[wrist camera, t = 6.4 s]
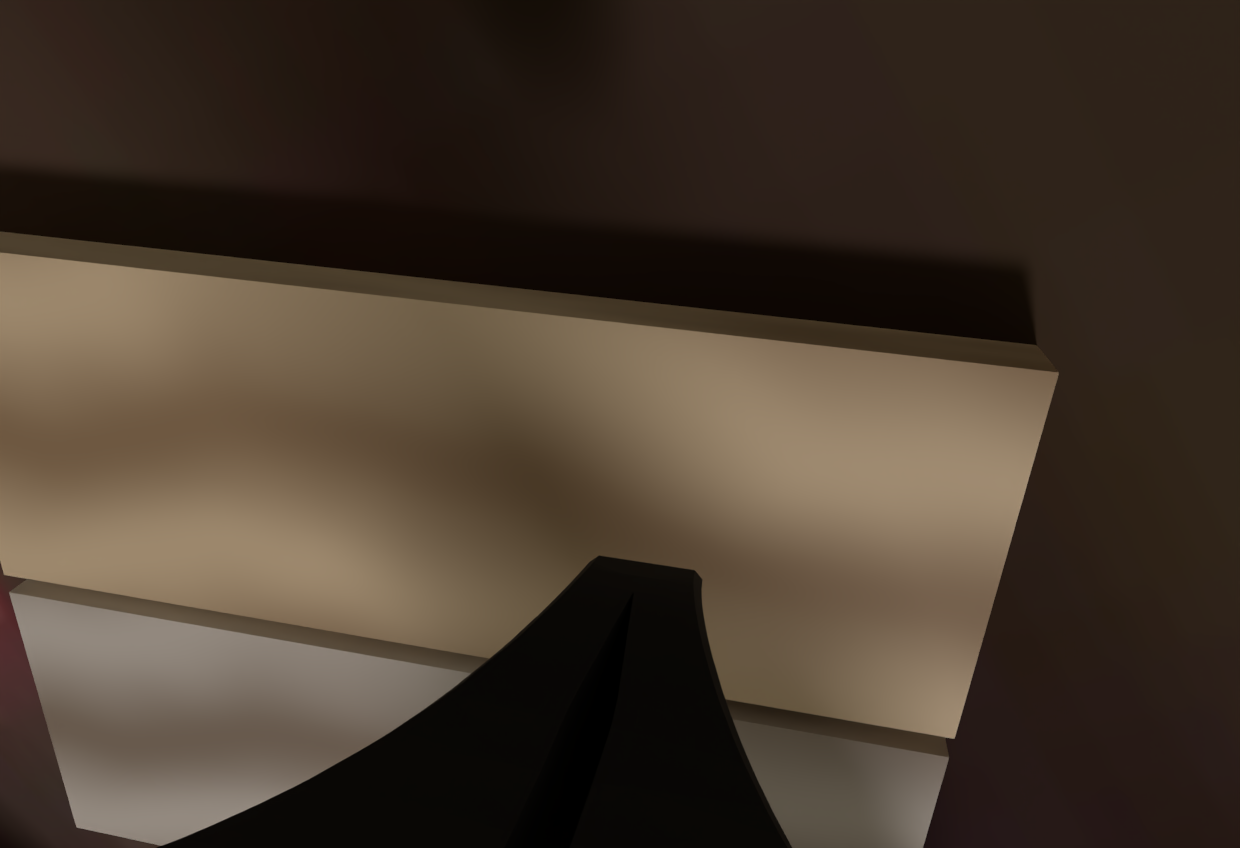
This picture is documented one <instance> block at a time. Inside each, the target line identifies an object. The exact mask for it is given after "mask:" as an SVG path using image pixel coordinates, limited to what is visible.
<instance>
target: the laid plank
mask: <svg viewBox="0 0 1240 848" xmlns="http://www.w3.org/2000/svg"><path fill="white" fill-rule="evenodd" d="M9 594H10V597H11V601H12V604H13V608H14V611H15V615H16V618H17V621H18V625H19V628H20V632H21V635H22V639H23V642H24V646H25V649H26V653H27V656H28V660H29V663H30V667H31V670H32V674H33V677H34V681H35V684H36V688H37V691H38V695H39V698H40V702H41V705H42V709H43V712H44V716H45V719H46V723H47V726H48V730H49V733H50V737H51V740H52V743H53V747H54V750H55V754H56V757H57V761H58V764H59V768H60V771H61V775H62V778H63V782H64V785H65V789H66V792H67V796H68V799H69V803H70V806H71V810H72V813H73V817H74V820H75V824H76V827H78V828H82V829H87V830H91V831H96V832H101V833H105V834H110V835H115V836H119V837H124V838H128V839H133V840H138V841H142V842H147V843H152V844H156V845H161V846H162V845H165V844H168V843H170V842H173V841H175V840H178V839H181V838H183V837H186V836H188V835H190V834H193V833H195V832H197V831H200V830H202V829H204V828H207V827H209V826H211V825H214V824H216V823H218V822H220V821H223V820H225V819H227V818H229V817H231V816H234V815H236V814H238V813H240V812H242V811H245V810H247V809H249V808H251V807H254V806H256V805H258V804H260V803H262V802H264V801H266V800H268V799H270V798H272V797H274V796H276V795H278V794H280V793H282V792H284V791H286V790H289V789H291V788H293V787H295V786H297V785H299V784H301V783H302V782H304V781H306V780H308V779H310V778H312V777H314V776H316V775H317V774H319V773H321V772H323V771H324V770H326V769H328V768H330V767H331V766H333V765H335V764H337V763H339V762H340V761H342V760H344V759H346V758H347V757H349V756H351V755H353V754H354V753H356V752H358V751H360V750H362V749H363V748H365V747H367V746H368V745H370V744H372V743H373V742H375V741H377V740H378V739H380V738H382V737H383V736H385V735H386V734H388V733H389V732H391V731H393V730H394V729H396V728H397V727H399V726H400V725H401V724H403V723H404V722H406V721H407V720H409V719H410V718H412V717H413V716H415V715H416V714H418V713H419V712H421V711H422V710H424V709H425V708H426V707H428V706H429V705H431V704H432V703H433V702H435V701H436V700H438V699H439V698H440V697H442V696H443V695H444V694H446V693H447V692H448V691H450V690H451V689H452V688H454V687H455V686H456V685H458V684H459V683H460V682H461V681H462V680H464V679H465V678H466V677H467V676H469V675H470V674H471V673H472V672H474V671H475V670H476V669H477V668H478V667H480V666H481V665H482V664H483V663H485V662H486V661H487V660H488V659H489V658H483V657H478V656H472V655H466V654H460V653H455V652H449V651H443V650H437V649H431V648H426V647H420V646H414V645H408V644H402V643H397V642H391V641H385V640H379V639H373V638H368V637H362V636H356V635H350V634H344V633H339V632H333V631H327V630H321V629H316V628H310V627H304V626H298V625H292V624H287V623H281V622H275V621H269V620H263V619H258V618H252V617H246V616H240V615H234V614H229V613H223V612H217V611H211V610H205V609H200V608H194V607H188V606H182V605H177V604H171V603H165V602H159V601H153V600H148V599H142V598H136V597H130V596H124V595H119V594H113V593H107V592H101V591H95V590H90V589H84V588H78V587H72V586H66V585H61V584H55V583H49V582H43V581H38V580H32V579H27V580H26V581H24V582H23V583H21V584H20V585H19V586H17V587H16V588H14V589H13V590H12V591H10V592H9ZM725 700H726V702H727V705H728V708H729V711H730V714H731V717H732V719H733V722H734V724H735V727H736V730H737V732H738V735H739V737H740V740H741V743H742V745H743V747H744V750H745V752H746V755H747V757H748V759H749V762H750V764H751V766H752V769H753V771H754V773H755V775H756V777H757V780H758V782H759V784H760V786H761V788H762V790H763V792H764V794H765V796H766V798H767V800H768V802H769V804H770V807H771V809H772V811H773V813H774V814H775V816H776V818H777V820H778V822H779V824H780V826H781V828H782V829H783V831H784V833H785V835H786V837H787V839H788V841H789V843H790V844H791V846H792V848H923V845H924V842H925V839H926V835H927V832H928V828H929V825H930V821H931V818H932V814H933V811H934V808H935V804H936V801H937V797H938V794H939V790H940V787H941V783H942V780H943V777H944V773H945V770H946V766H947V763H948V759H949V755H948V750H947V745H946V741H945V737H941V736H935V735H929V734H924V733H918V732H912V731H906V730H900V729H895V728H889V727H883V726H877V725H872V724H866V723H860V722H854V721H848V720H843V719H837V718H831V717H825V716H819V715H814V714H808V713H802V712H796V711H790V710H785V709H779V708H773V707H767V706H761V705H756V704H750V703H744V702H738V701H733V700H727V699H725Z"/></svg>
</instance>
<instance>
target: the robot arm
mask: <svg viewBox="0 0 1240 848" xmlns="http://www.w3.org/2000/svg"><path fill="white" fill-rule="evenodd" d="M702 581H703V580H702V578H701V577H700V576H699V575H698V573H697V572H696V571H695V570H691V569H684V568H678V567H671V566H665V565H658V564H652V563H645V562H639V561H632V560H626V559H619V558H613V557H606V556H600V555H599V556H597V557H596V558H594V559H593V560H592V561H590V562H589V563H588V564H587V565H586V566H585V567H584V569H583V570H582V571H581V572H580V573H579V574H578V575H577V576H576V577H575V578H574V579H573V581H572V582H571V583H570V584H569V585H568V586H567V587H566V588H565V589H564V590H563V591H562V592H561V593H560V594H559V595H558V596H557V597H556V598H555V599H554V600H553V601H552V602H551V603H550V604H549V605H548V606H547V607H546V608H545V609H544V610H543V611H542V612H541V613H540V614H539V615H538V616H537V617H536V618H534V619H533V620H532V621H531V622H530V623H529V624H528V625H527V626H526V627H525V628H524V629H523V630H521V631H520V632H519V633H518V634H517V635H516V636H515V637H514V638H513V639H512V640H511V641H510V642H508V643H507V644H506V645H505V646H504V647H503V648H502V649H500V650H499V651H498V652H497V653H496V654H494V655H493V656H492V657H491V658H489V659H488V660H487V661H486V662H485V663H483V664H482V665H481V666H480V667H478V668H477V669H476V670H475V671H474V672H472V673H471V674H470V675H469V676H467V677H466V678H465V679H464V680H462V681H461V682H460V683H459V684H458V685H456V686H455V687H454V688H452V689H451V690H450V691H448V692H447V693H446V694H444V695H443V696H442V697H440V698H439V699H438V700H436V701H435V702H433V703H432V704H431V705H429V706H428V707H426V708H425V709H424V710H422V711H421V712H419V713H418V714H416V715H415V716H413V717H412V718H410V719H409V720H407V721H406V722H404V723H403V724H401V725H400V726H399V727H397V728H396V729H394V730H393V731H391V732H389V733H388V734H386V735H385V736H383V737H382V738H380V739H378V740H377V741H375V742H373V743H372V744H370V745H368V746H367V747H365V748H363V749H362V750H360V751H358V752H356V753H354V754H353V755H351V756H349V757H347V758H346V759H344V760H342V761H340V762H339V763H337V764H335V765H333V766H331V767H330V768H328V769H326V770H324V771H323V772H321V773H319V774H317V775H316V776H314V777H312V778H310V779H308V780H306V781H304V782H302V783H301V784H299V785H297V786H295V787H293V788H291V789H289V790H286V791H284V792H282V793H280V794H278V795H276V796H274V797H272V798H270V799H268V800H266V801H264V802H262V803H260V804H258V805H256V806H254V807H251V808H249V809H247V810H245V811H242V812H240V813H238V814H236V815H234V816H231V817H229V818H227V819H225V820H223V821H220V822H218V823H216V824H214V825H211V826H209V827H207V828H204V829H202V830H200V831H197V832H195V833H193V834H190V835H188V836H186V837H183V838H181V839H178V840H175V841H173V842H170V843H168V844H165V845H162V846H160V847H157V848H792V846H791V844H790V843H789V841H788V839H787V837H786V835H785V833H784V831H783V829H782V828H781V826H780V824H779V822H778V820H777V818H776V816H775V814H774V813H773V811H772V809H771V807H770V804H769V802H768V800H767V798H766V796H765V794H764V792H763V790H762V788H761V786H760V784H759V782H758V780H757V777H756V775H755V773H754V771H753V769H752V766H751V764H750V762H749V759H748V757H747V755H746V752H745V750H744V747H743V745H742V743H741V740H740V737H739V735H738V732H737V730H736V727H735V724H734V722H733V719H732V717H731V714H730V711H729V708H728V705H727V702H726V700H725V697H724V694H723V691H722V687H721V684H720V680H719V677H718V674H717V670H716V667H715V663H714V660H713V657H712V653H711V649H710V645H709V641H708V636H707V631H706V626H705V620H704V614H703V607H702Z"/></svg>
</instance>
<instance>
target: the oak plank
mask: <svg viewBox="0 0 1240 848" xmlns="http://www.w3.org/2000/svg"><path fill="white" fill-rule="evenodd" d="M1058 374H1059V372H1058V371H1057V370H1056V368H1055V367H1054V366H1053V365H1052V363H1051V362H1050V361H1049V360H1048V358H1047V357H1046V356H1045V355H1044V354H1043V352H1042V351H1041V350H1040V349H1039V347H1038V346H1037V345H1031V344H1021V343H1012V342H1003V341H994V340H985V339H976V338H967V337H958V336H948V335H939V334H930V333H921V332H912V331H903V330H894V329H885V328H875V327H866V326H857V325H848V324H839V323H830V322H821V321H812V320H802V319H793V318H784V317H775V316H766V315H757V314H748V313H739V312H729V311H720V310H711V309H702V308H693V307H684V306H675V305H666V304H657V303H647V302H638V301H629V300H620V299H611V298H602V297H593V296H584V295H574V294H565V293H556V292H547V291H538V290H529V289H520V288H511V287H501V286H492V285H483V284H474V283H465V282H456V281H447V280H438V279H428V278H419V277H410V276H401V275H392V274H383V273H374V272H365V271H355V270H346V269H337V268H328V267H319V266H310V265H301V264H292V263H282V262H273V261H264V260H255V259H246V258H237V257H228V256H219V255H210V254H200V253H191V252H182V251H173V250H164V249H155V248H146V247H137V246H127V245H118V244H109V243H100V242H91V241H82V240H73V239H64V238H54V237H45V236H36V235H27V234H18V233H9V232H0V561H1V565H2V569H3V572H4V575H9V576H14V577H20V578H26V579H32V580H38V581H43V582H49V583H55V584H61V585H66V586H72V587H78V588H84V589H90V590H95V591H101V592H107V593H113V594H119V595H124V596H130V597H136V598H142V599H148V600H153V601H159V602H165V603H171V604H177V605H182V606H188V607H194V608H200V609H205V610H211V611H217V612H223V613H229V614H234V615H240V616H246V617H252V618H258V619H263V620H269V621H275V622H281V623H287V624H292V625H298V626H304V627H310V628H316V629H321V630H327V631H333V632H339V633H344V634H350V635H356V636H362V637H368V638H373V639H379V640H385V641H391V642H397V643H402V644H408V645H414V646H420V647H426V648H431V649H437V650H443V651H449V652H455V653H460V654H466V655H472V656H478V657H483V658H491V657H492V656H493V655H494V654H496V653H497V652H498V651H499V650H500V649H502V648H503V647H504V646H505V645H506V644H507V643H508V642H510V641H511V640H512V639H513V638H514V637H515V636H516V635H517V634H518V633H519V632H520V631H521V630H523V629H524V628H525V627H526V626H527V625H528V624H529V623H530V622H531V621H532V620H533V619H534V618H536V617H537V616H538V615H539V614H540V613H541V612H542V611H543V610H544V609H545V608H546V607H547V606H548V605H549V604H550V603H551V602H552V601H553V600H554V599H555V598H556V597H557V596H558V595H559V594H560V593H561V592H562V591H563V590H564V589H565V588H566V587H567V586H568V585H569V584H570V583H571V582H572V581H573V579H574V578H575V577H576V576H577V575H578V574H579V573H580V572H581V571H582V570H583V569H584V567H585V566H586V565H587V564H588V563H589V562H590V561H592V560H593V559H594V558H596V557H597V556H599V555H600V556H606V557H613V558H619V559H626V560H632V561H639V562H645V563H652V564H658V565H665V566H671V567H678V568H684V569H691V570H695V571H696V572H697V573H698V575H699V576H700V577H701V578H702V580H703V581H702V607H703V614H704V620H705V626H706V631H707V636H708V641H709V645H710V649H711V653H712V657H713V660H714V663H715V667H716V670H717V674H718V677H719V680H720V684H721V687H722V691H723V694H724V697H725V699H727V700H733V701H738V702H744V703H750V704H756V705H761V706H767V707H773V708H779V709H785V710H790V711H796V712H802V713H808V714H814V715H819V716H825V717H831V718H837V719H843V720H848V721H854V722H860V723H866V724H872V725H877V726H883V727H889V728H895V729H900V730H906V731H912V732H918V733H924V734H929V735H935V736H941V737H947V738H953V739H955V735H956V732H957V728H958V725H959V721H960V718H961V714H962V711H963V707H964V704H965V700H966V697H967V693H968V690H969V686H970V682H971V679H972V675H973V672H974V668H975V665H976V661H977V658H978V654H979V651H980V647H981V644H982V640H983V637H984V633H985V630H986V626H987V623H988V619H989V616H990V612H991V609H992V605H993V602H994V598H995V595H996V591H997V588H998V584H999V581H1000V577H1001V574H1002V570H1003V567H1004V563H1005V560H1006V556H1007V553H1008V549H1009V546H1010V542H1011V539H1012V535H1013V532H1014V528H1015V525H1016V521H1017V518H1018V514H1019V511H1020V507H1021V504H1022V500H1023V497H1024V493H1025V490H1026V486H1027V483H1028V479H1029V476H1030V472H1031V469H1032V465H1033V462H1034V458H1035V455H1036V451H1037V448H1038V444H1039V441H1040V437H1041V434H1042V430H1043V427H1044V423H1045V420H1046V416H1047V413H1048V409H1049V406H1050V402H1051V399H1052V395H1053V392H1054V388H1055V385H1056V381H1057V378H1058Z"/></svg>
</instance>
